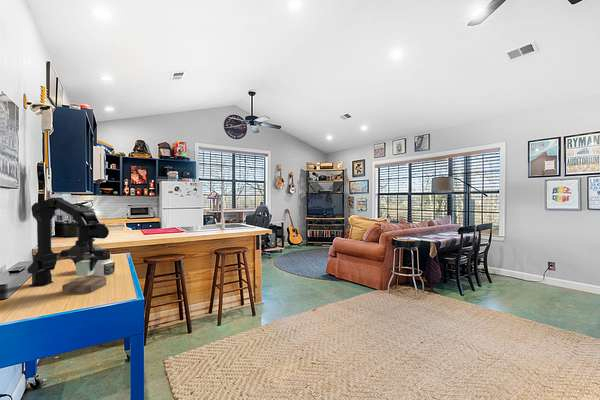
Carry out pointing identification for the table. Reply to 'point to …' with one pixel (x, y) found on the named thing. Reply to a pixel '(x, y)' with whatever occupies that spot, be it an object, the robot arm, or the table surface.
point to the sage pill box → (83, 268)
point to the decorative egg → (86, 257)
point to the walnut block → (84, 285)
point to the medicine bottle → (104, 266)
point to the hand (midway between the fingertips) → (85, 271)
